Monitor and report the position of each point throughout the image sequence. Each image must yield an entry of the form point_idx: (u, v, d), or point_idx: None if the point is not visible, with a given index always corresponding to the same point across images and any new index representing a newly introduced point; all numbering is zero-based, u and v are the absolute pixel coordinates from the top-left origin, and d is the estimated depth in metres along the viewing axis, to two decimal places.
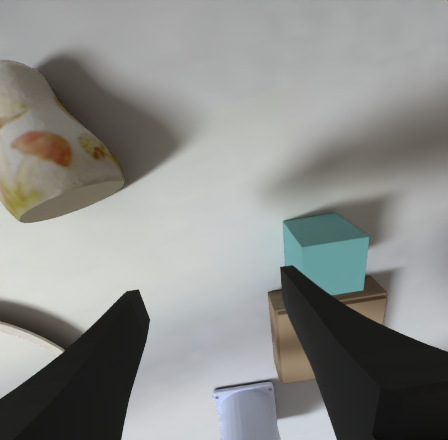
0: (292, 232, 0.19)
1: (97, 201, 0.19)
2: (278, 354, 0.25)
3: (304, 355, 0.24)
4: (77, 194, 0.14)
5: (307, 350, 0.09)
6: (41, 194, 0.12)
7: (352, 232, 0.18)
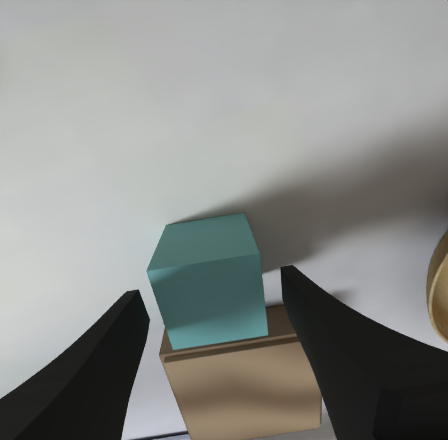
0: (159, 243, 0.12)
1: None
2: (181, 410, 0.18)
3: (215, 413, 0.17)
4: None
5: (307, 350, 0.09)
6: None
7: (241, 244, 0.11)
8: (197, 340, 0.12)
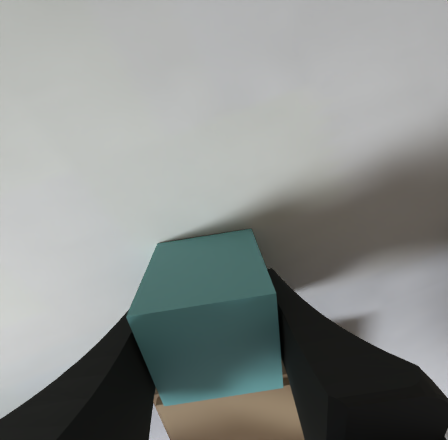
0: (146, 272, 0.10)
1: None
2: None
3: None
4: None
5: (282, 354, 0.09)
6: None
7: (250, 278, 0.08)
8: (194, 395, 0.09)
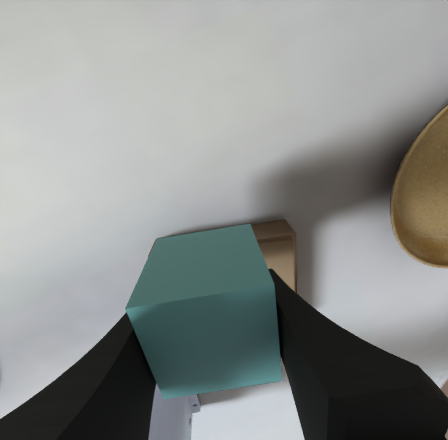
0: (145, 266, 0.10)
1: None
2: None
3: None
4: None
5: (282, 354, 0.09)
6: None
7: (248, 270, 0.09)
8: (193, 388, 0.09)
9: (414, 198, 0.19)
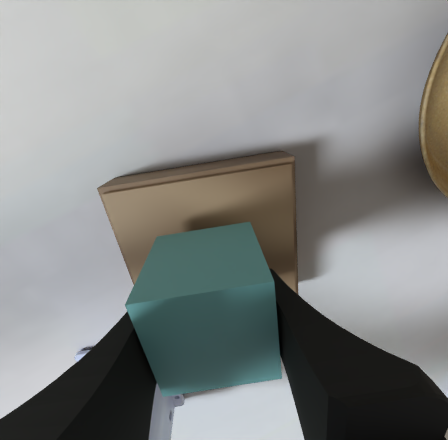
0: (146, 263, 0.10)
1: None
2: (133, 279, 0.15)
3: None
4: None
5: (282, 354, 0.09)
6: None
7: (248, 268, 0.09)
8: (193, 385, 0.09)
9: (447, 120, 0.15)
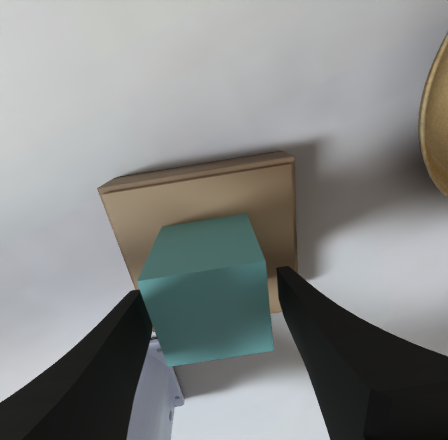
0: (152, 248, 0.11)
1: None
2: (133, 280, 0.15)
3: None
4: None
5: (302, 351, 0.09)
6: None
7: (244, 251, 0.10)
8: (194, 356, 0.11)
9: (447, 121, 0.15)
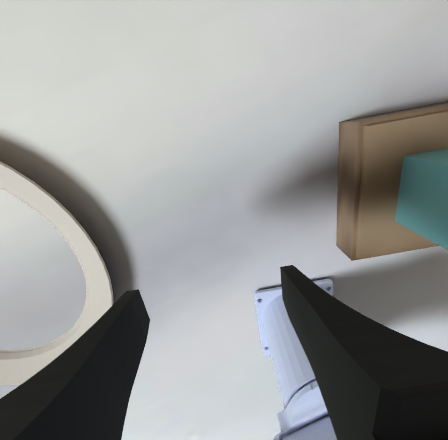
0: (437, 161, 0.14)
1: None
2: (355, 209, 0.18)
3: (392, 208, 0.18)
4: None
5: (307, 350, 0.09)
6: None
7: None
8: None
9: None
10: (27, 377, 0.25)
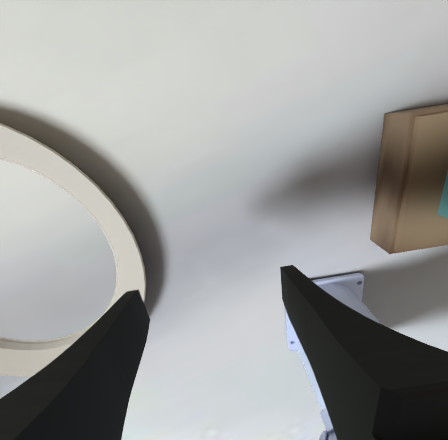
0: None
1: None
2: (398, 202, 0.18)
3: (436, 201, 0.17)
4: None
5: (307, 350, 0.09)
6: None
7: None
8: None
9: None
10: None
